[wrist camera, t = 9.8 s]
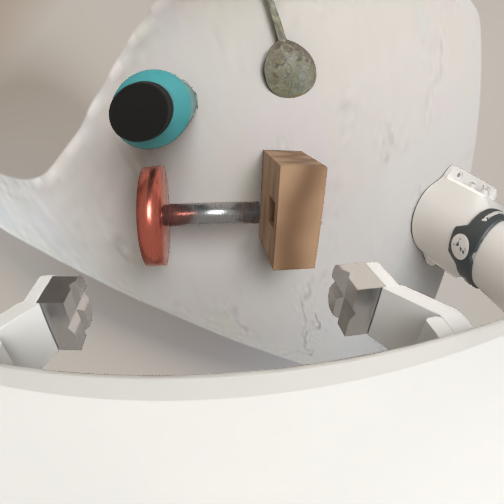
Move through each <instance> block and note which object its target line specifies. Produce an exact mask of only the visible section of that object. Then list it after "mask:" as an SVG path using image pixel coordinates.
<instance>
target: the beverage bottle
mask: <svg viewBox="0 0 504 504" xmlns="http://www.w3.org/2000/svg"><path fill="white" fill-rule="evenodd" d="M178 77H179V76H178ZM178 77H176V76H175V75H173V74H171V73H169V72H166V71H163V70H156V69H155V70H145V71H141V72H139V73H136V74H134V75H132V76H131V77H129V78H128V79H127V80H125V81H124V82H123V83H122V84H121V86H120V87H119V88H118V90H117V91H116V93H115V95H114V97H113V100H112V102H111V105H110V109H109V119H110V123H111V126H112V128H113V130H114V131H115V132H116V133H117V134H118V135H119V136H120V137H121V138H122V139H123V140H124V141H125V142H127V143H128V144H130V145H132V146H134V147H137V148H142V149H154V148H159V147H162V146H165V145H167V144H169V143H171V142H172V141H174V140H175V139H176V138H177V137H178V136H180V134H181V133H182V132H183V131H184V129H185V128H186V126H187V124H188V123H189V121H190V120H191V119H192V117H193V115H194V113H195V111H196V106H197V109H198V105H197V103H198V101H197V100H196V96H197V94H196V93H194V91H193V90H192V88H193V87H190V86H189V85H190V84H189V85H187V84H186V83H185V82H183V81H182V80H180V79H179V78H178ZM195 94H196V96H195ZM193 118H194V117H193Z"/></svg>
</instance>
